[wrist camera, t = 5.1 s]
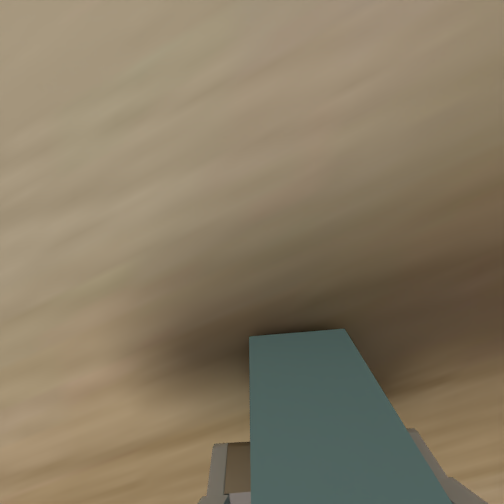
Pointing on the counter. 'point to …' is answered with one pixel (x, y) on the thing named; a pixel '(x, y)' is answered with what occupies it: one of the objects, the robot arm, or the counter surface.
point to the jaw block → (328, 428)
